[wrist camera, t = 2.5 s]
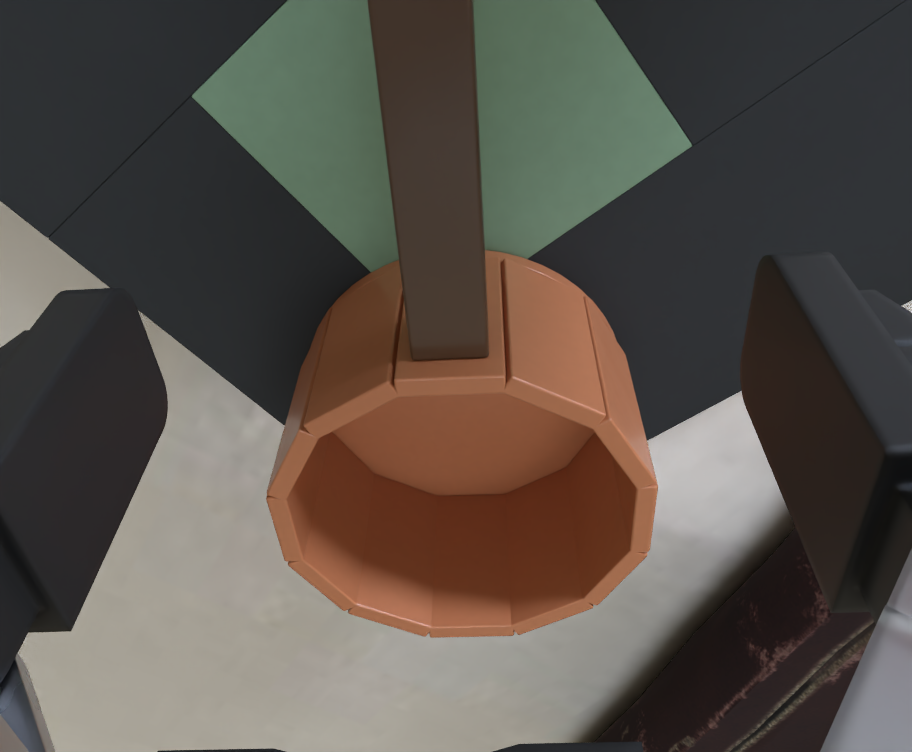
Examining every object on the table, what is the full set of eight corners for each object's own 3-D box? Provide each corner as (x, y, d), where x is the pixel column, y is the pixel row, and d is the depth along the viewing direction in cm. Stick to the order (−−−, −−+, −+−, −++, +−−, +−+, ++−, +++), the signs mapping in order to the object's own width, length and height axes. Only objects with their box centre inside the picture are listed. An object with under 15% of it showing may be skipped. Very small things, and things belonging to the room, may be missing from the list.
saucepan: (612, 489, 32) (639, 633, 27) (334, 498, 32) (308, 640, 27) (663, -146, 19) (736, -102, 14) (196, -112, 19) (96, -58, 14)
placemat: (-246, -5, 21) (-256, -2, 21) (457, -1154, 12) (457, -1178, 11) (441, 542, 34) (441, 550, 34) (1042, 221, 25) (1049, 227, 24)
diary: (569, 746, 45) (578, 843, 41) (847, 431, 30) (903, 536, 26) (855, 803, 48) (888, 897, 44) (1228, 547, 34) (1328, 654, 30)
